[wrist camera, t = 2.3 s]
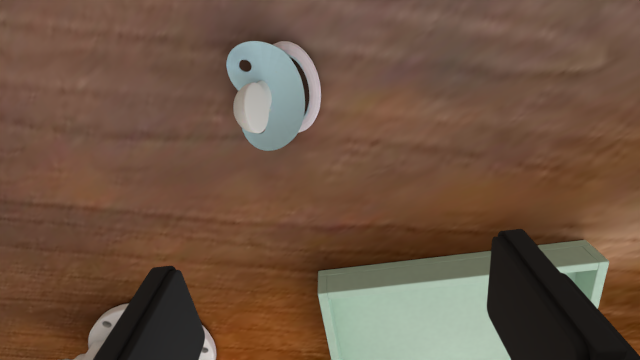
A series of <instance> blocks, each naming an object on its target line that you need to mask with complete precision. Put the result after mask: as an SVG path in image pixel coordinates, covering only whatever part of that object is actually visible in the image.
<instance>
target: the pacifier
mask: <svg viewBox="0 0 640 360" xmlns="http://www.w3.org/2000/svg"><path fill="white" fill-rule="evenodd" d="M290 57H291V58H293V59H294V60H295V61H296V62H297V63H298V64H299V65H300V67H301V68H302V69H303V71H304V73H305V76H306V78H307V82H308V86H309V95H310V97H309V104H308V108H307V110H306V112H305V114H304V111H305V95H304V88H303V84H302V80H301V77H300V75H299V72H298V70H297V68H296V66H295V65H294V63H293V61H292V60H291V59H290ZM241 60H247V61H249V62H250V63H251V66H252V68H251V70H250V71H248V72H246V71H243V70H241V68H240V67H239V62H240V61H241ZM226 66H227V72H228V75H229V77H230V80H231V82H232V83H233V85H234V86H235V87H236V88H237V90H238V93H237V94H236V97H235V99H234V104H233V110H234V115H235V118H236V120H237V122H238V124H239V125H240V126H241V127H242V130H243V133H244V135H245V137H246V138H247V140H248V141H249V142H250V143H251V144H252V145H253V146H255V147H256V148H258V149H261V150H265V151H272V150H277V149H279V148H282V147H283V146H285V145H287V144H288V143H289V142H290V141H292V140H293V138H294V137H295V136H296V135H297V133H299V132H302V131H304V130H306V129H307V128H309V127H310V126H311V125H312V124H313V122H314V121H315V119H316V117H317V115H318V112H319V109H320V102H321V87H320V81H319V77H318V73H317V70H316V68H315V66H314V64H313V61H312V60H311V59H310V57H309V56H308V54H307V53H306V52H305V51H304V50H303V49H302V48H301V47H300V46H298V45H296V44H294V43H292V42H290V41H280V42H278V43H275V44H273V45H272V44H269V43H266V42H261V41H248V42H244V43H241V44H239V45H238V46H236V47H234V48H233V49H232V50H231V52H230V53H229V55H228V58H227V63H226ZM264 129H265V131H264ZM263 131H264V132H263ZM261 132H262V133H261Z"/></svg>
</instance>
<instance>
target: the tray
mask: <svg viewBox="0 0 640 360" xmlns="http://www.w3.org/2000/svg"><path fill="white" fill-rule="evenodd" d="M537 246H538V247H539V249H540V250H541V251H542V252H543V253H544V254H545V255H546V257H547V258H548V259H549V260H550V261H551V262H552V263H553V265H554V266H555V267H556V268H557V269H558V270H559V271H560V273H564V274H566V275H567V276H568V277H569V278H571V280H572V281H573V282H574V283H575V284H576V285H577V286H578V287H579V288H580V290H581V291H582V292H583V293H584V294H585V295H586V296H587V297H588V299H589V300H590V301H591V302H592V303H593V304H594V305H595V306H596V308H597V309H598V306H599V302H600V297H601V293H602V289H603V285H604V281H605V277H606V273H607V269H608V264H609V261H608V260H607V259H606V258H605V257H604V256H603V255H602V254H601V253H599V252H598V251H597V250H596V249H595V248H594V247H593V246H592V245H590V244H589V243H588V242H587V241H586V240H579V241H570V242H562V243H553V244H544V245H537ZM490 260H491V251H485V252H476V253H467V254H459V255H450V256H442V257H433V258H425V259H416V260H408V261H399V262H390V263H382V264H373V265H365V266H356V267H348V268H339V269H330V270H322V271H318V298H319V303H320V307H321V312H322V317H323V322H324V327H325V332H326V337H327V341H328V346H329V351H330V356H331V360H511V358H510V357H509V355H508V353H507V351H506V349H505V347H504V345H503V343H502V341H501V339H500V337H499V335H498V334H497V332H496V330H495V328H494V326H493V324H492V322H491V320H490V318H489V315H488V312H487V295H488V283H489V272H490Z"/></svg>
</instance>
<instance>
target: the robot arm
mask: <svg viewBox="0 0 640 360" xmlns="http://www.w3.org/2000/svg"><path fill="white" fill-rule="evenodd" d="M487 312H488V315H489V318H490V320H491V322H492V324H493V326H494V328H495V330H496V332H497V334H498V335H499V337H500V339H501V341H502V343H503V345H504V347H505V349H506V351H507V353H508V355H509V357H510V358H511V360H640V356H639V355H638V354H637V353H636V351H635V350H634V349H633V348H632V347H631V346H630V345H629V344H628V342H627V341H626V340H625V339H624V338H623V337H622V336H621V335H620V333H619V332H618V331H617V330H616V329H615V328H614V327H613V326H612V324H611V323H610V322H609V321H608V320H607V319H606V318H605V317H604V315H603V314H602V313H601V312H600V311H599V310H598V309H597V308H596V306H595V305H594V304H593V303H592V302H591V301H590V300H589V299H588V297H587V296H586V295H585V294H584V293H583V292H582V291H581V290H580V288H579V287H578V286H577V285H576V284H575V283H574V282H573V281H572V280H571V278H569V277H568V276H567V275H566V274H564V273H560V271H559V270H558V269H557V268H556V267H555V266H554V265H553V263H552V262H551V261H550V260H549V259H548V258H547V257H546V255H545V254H544V253H543V252H542V251H541V250H540V249H539V247H538V246H537V245H536V244H535V243H534V242H533V240H532V239H531V238H530V237H529V236H528V235H527V234H526V232H525V231H523V230H522V229H516V230H507V231H500V232H499V234H498V237H493V239H492V248H491V260H490V272H489V283H488V295H487ZM88 348H89V350H88V351H87V353H86V354H81V355H78V356H77V357H76V358H75V359H71V360H216V346H215V343H214V340H213V338H212V337H211V335H210V333H209V332H208V331H207V330H206V328H205V327H204V326H203V325H202V324H201V321H200V319H199V316H198V314H197V311H196V309H195V306H194V303H193V301H192V298H191V296H190V293H189V291H188V288H187V285H186V283H185V280H184V278H183V275H182V273H181V271H180V270H176V269H175V267H173V266H165V267H156V268H152V269H151V270H150V272H149V273H148V275H147V276H146V278H145V280H144V281H143V283H142V284H141V286H140V287H139V289H138V290H137V292H136V293H135V295H134V297H133V298H132V300H131V301H130V303H128V304H123V305H119V306H117V307H114V308H112V309H110V310H109V311H107V312H105V313H104V314H103V315H102V316H101V317H100V318H99V319H98V320H97V322H96V323H95V325H94V326H93V328H92V329H91V331H90V334H89V337H88ZM60 360H70V359H60Z"/></svg>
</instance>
